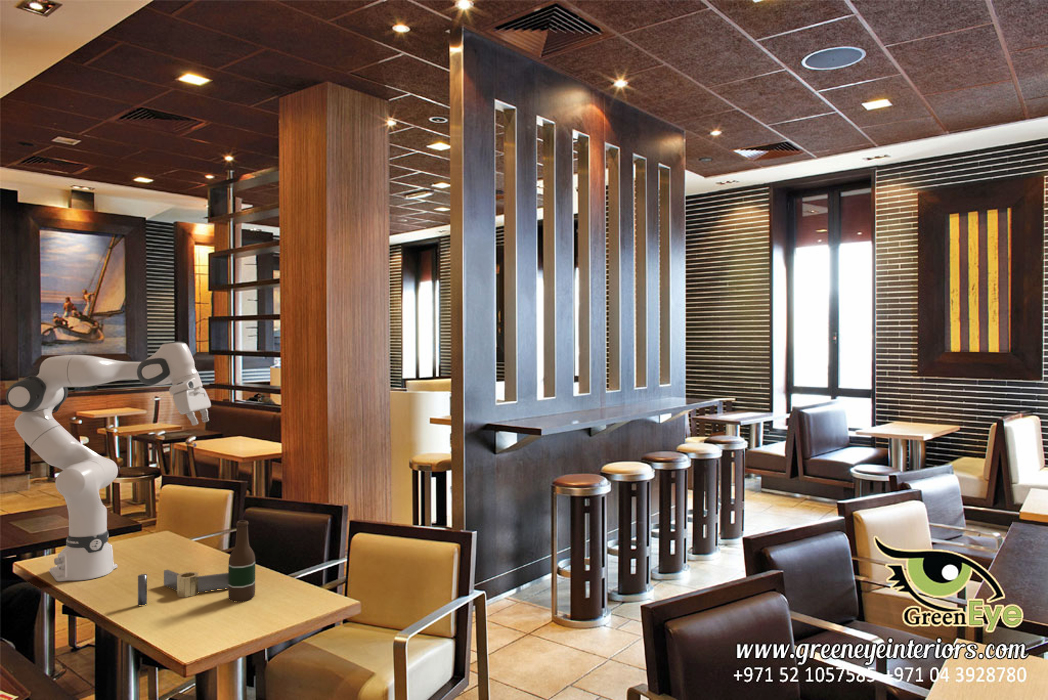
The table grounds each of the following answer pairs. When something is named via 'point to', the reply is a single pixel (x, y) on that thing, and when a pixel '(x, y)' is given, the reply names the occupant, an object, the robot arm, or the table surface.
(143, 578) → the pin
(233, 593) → the beer bottle
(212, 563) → the table surface
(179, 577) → the hinge
